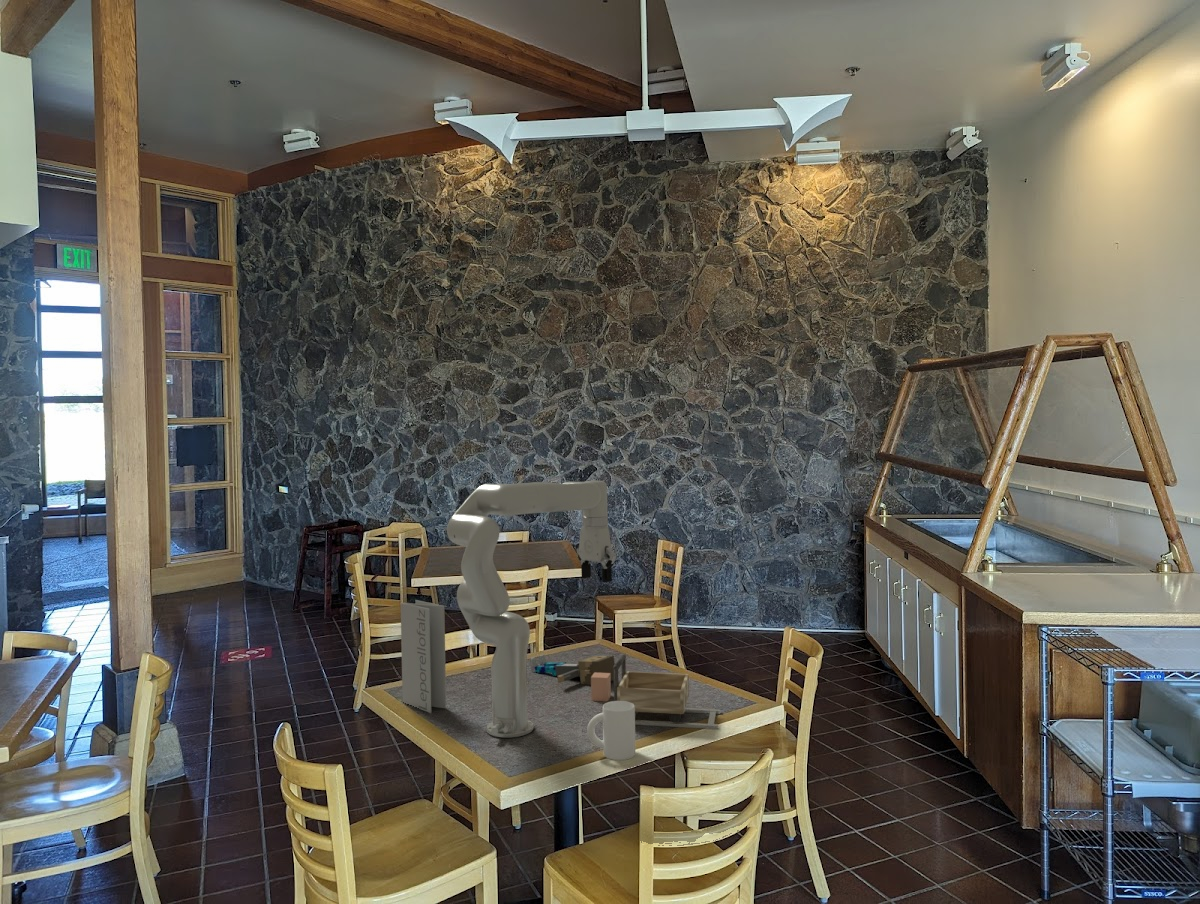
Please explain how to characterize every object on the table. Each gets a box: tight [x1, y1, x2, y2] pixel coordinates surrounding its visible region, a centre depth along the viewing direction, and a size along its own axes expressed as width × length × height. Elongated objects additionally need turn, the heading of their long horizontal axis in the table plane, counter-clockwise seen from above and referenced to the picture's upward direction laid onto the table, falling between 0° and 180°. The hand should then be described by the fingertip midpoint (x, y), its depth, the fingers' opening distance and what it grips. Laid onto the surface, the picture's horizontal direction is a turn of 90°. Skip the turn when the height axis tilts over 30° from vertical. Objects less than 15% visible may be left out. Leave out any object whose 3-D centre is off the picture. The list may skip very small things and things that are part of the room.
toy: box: [529, 654, 616, 686], centre depth 268 cm, size 26×8×30 cm
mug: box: [586, 700, 636, 761], centre depth 202 cm, size 8×12×12 cm
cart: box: [613, 652, 690, 723], centre depth 228 cm, size 16×19×15 cm
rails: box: [635, 707, 721, 730], centre depth 227 cm, size 13×26×1 cm, turn 79°
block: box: [590, 672, 612, 702], centre depth 246 cm, size 5×5×7 cm
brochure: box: [400, 599, 447, 714], centre depth 241 cm, size 14×6×30 cm, turn 47°
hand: (596, 579), depth 243 cm, fingers open, 9 cm apart
